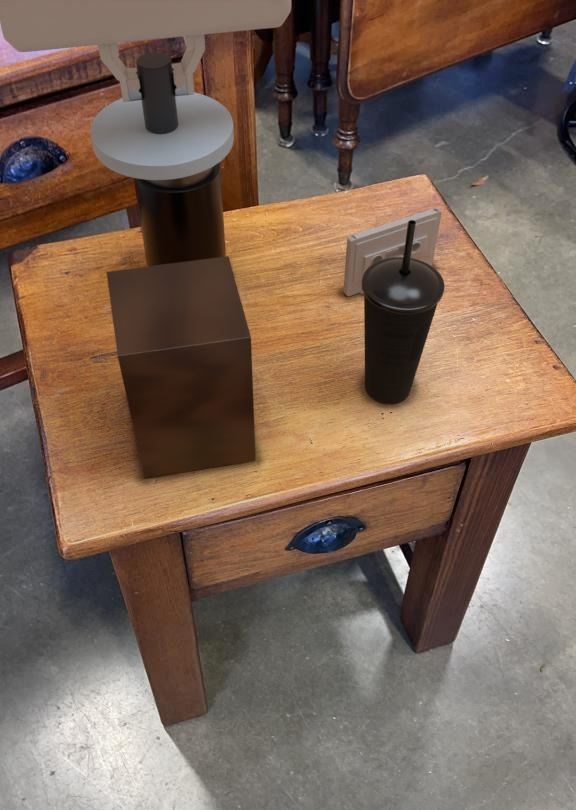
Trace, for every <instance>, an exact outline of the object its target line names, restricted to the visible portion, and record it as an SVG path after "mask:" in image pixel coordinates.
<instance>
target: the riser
mask: <svg viewBox="0 0 576 810" xmlns="http://www.w3.org/2000/svg"><path fill="white" fill-rule="evenodd" d="M106 280H107V288H108V294H109V302H110V308H111V309H110V310H111V317H112V325H113V332H114V339H115V347H116V354H117V359H118V365H119V369H120V374H121V379H122V383H123V388H124V393H125V396H126V401H127V406H128V410H129V411H128V412H129V416H130V419H131V420H130V421H131V425H132V430H133V434H134V439H135V443H136V448H137V453H138V457H139V462H140V466H141V471H142V475H143V479H149V478H156V477H162V476H169V475H174V474H175V475H176V474H180V473H188V472H194V471H199V470H206V469H213V468H218V467H219V468H220V467H225V466H231V465H238V464H243V463H250V462H256V460H257V457H256V456H257V455H256V432H255V431H256V429H255V428H256V427H255V406H254V405H255V404H254V382H253V381H254V380H253V355H252V353H253V352H252V350H253V349H252V336H251V331H250V329H249V325H248V321H247V318H246V314H245V311H244V307H243V304H242V303H243V302H242V300H241V296H240V293H239V289H238V285H237V281H236V278H235V274H234V271H233V268H232V263H231V260H230V256H228V255H226V257H218V258H211V259H203V260H195V261H187V262H179V263H171V264H164V265H156V266H148V267H147V266H141V267H140V266H139V267H134V268H127V269H117V270H109V271H106Z"/></svg>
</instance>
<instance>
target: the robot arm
mask: <svg viewBox="0 0 576 810" xmlns="http://www.w3.org/2000/svg"><path fill="white" fill-rule="evenodd" d="M291 11H292V0H0V29H1V33H2V37H3V39H4V40H5V41H6V42H7V43H8V44H9V45H10V46H11V47H12V48H13V49H14V50H15V51H17V52H18V53H27V52H28V53H30V52H39V51H40V52H41V51H49V50H61V49H69V48H70V49H71V48H72V49H73V48H81V47H90V46H97V47H98V53H99V58H100V61H101V62H102V64H104V66H105V67H106V68H107V70H108V71H109V72H110V73H111V74H112V75H113V77H114V78H115V79H116V81H119V87H120V92H121V98H122V99H123V102H129V101H137V100H142V95H141V90H140V81H139V75H138V73H137V66H135V67H126V66H125V64H124V62H123V61H122V60H121V58H120V51H119V50H120V49H119V44H121V43H131V42H132V43H133V42H141V41H151V40H152V41H154V40H161V39H173V38H183V41H184V44H185V50H184V53H183V55H182V58H181V60H180V62H173V63H172V73H173V81H174V91H175V96H185V95H194V93H195V85H194V75H193V74H195V72H196V70H197V68H198V66H199V64H200V62H201V59H202V57H203V55H204V54H205V52H206V37H205V36H206V35H212V34H213V35H214V34H221V33H222V34H223V33H234V32H235V33H236V32H244V31H252V30H253V31H254V30H263V29H264V30H265V29H276V28H280V27H282V26H283V24H284V23H285V21H286V20H287V18H288V17H289V15H290V13H291Z"/></svg>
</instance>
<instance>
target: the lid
mask: <svg viewBox="0 0 576 810" xmlns="http://www.w3.org/2000/svg"><path fill="white" fill-rule="evenodd" d="M172 64H173V63H172V58H171V57H170V56H169V55H168V54H166V53H164V52H158V51H157V52H156V51H153V52H146V53H143V54H141V55H139V56H138V57H137V58H136V61H135V65H136V66H135V67H137V73H138V75H139V81H140V90H141V95H142V100H137V101H129V102H123V99H122V97H120V98H119V99H117V100H115V101H113V102H111V103H110V104H108V105H106V106H105V107H103V108H102V109H101V110H100V111H99V112H98V113H97V114H96V116H95V117H94V118H93V120H92V122H91V125H90V129H89V131H90V132H89V133H90V134H89V135H90V139H91V144H92V149H93V153H94V155H95V157H96V159H98V161H99V162H100V163H101V164H102V165H103V166H105V168H107V169H109V170H110V171H113V172H115V173H116V174H119V175H122V176H125V177H127V178H132V179H133V178H138V179H145V180H169V179H177V178H183V177H187V176H191V175H194V174H198V173H200V172H203V171H205V170H207V169H209V168H211V167H213V166H215V165H216V164H218V163H219V162H222V161H223V160H224V159H225V158H226V157H227V156H228V154H229V153H230V152H231V150H232V148H233V145H234V141H235V132H234V131H235V130H234V129H235V128H234V119H233V116H232V115H231V112H229V110H228V109H227V107H225V105H223V104H222V103H221V102H219V101H218V100H216V99H214V98H212V97H211V96H210V97H209V96H207V95H204V94H202V93H198V92H194V95H185V96H175V91H174V81H173V73H172Z"/></svg>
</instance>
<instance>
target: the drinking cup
mask: <svg viewBox="0 0 576 810" xmlns="http://www.w3.org/2000/svg"><path fill="white" fill-rule="evenodd" d="M415 226H416V222H415V221H414V220H410V221H408V227H407V234H406V241H405V248H404V254H403V257H392V258H386V259H383V260H380V261H377V262H375V263H374V264H372V265H371V266H369V267H368V268H367V270H366V271H365V272H364V274H363V277H362V283H361V285H362V290H363V297H364V299H363V302H364V303H363V305H364V307H363V311H364V312H363V313H364V314H363V315H364V317H363V318H364V319H363V320H364V321H363V323H364V326H363V327H364V330H363V331H364V333H363V334H364V390H365V392H366V395H368V397H369V398H371V400H373V401H375V402H377V403H379V404H385V405H394V404H395V405H396V404H399V403H402V402H404V401H405V400H406V399H407V398H408V397H409V396H410V393H411V390H412V388H413V384H414V382H415V381H414V380H415V377H416V375H417V371H418V368H419V364H420V361H421V358H422V355H423V352H424V349H425V345H426V343H427V339H428V335H429V333H430V329H431V326H432V323H433V320H434V316H435V314H436V309H437V307H438V303H440V302H441V300H442V299H443V296H444V294H445V293H444V292H445V280H444V278H443V276H442V275H441V273H440V271H438V269H436V268H435V267H434V266H433V265H432V266H431V265H429V264H427V263H425V262H423V261H420V260H417V259H413V258H411V252H412V246H413V239H414V233H415Z"/></svg>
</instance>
